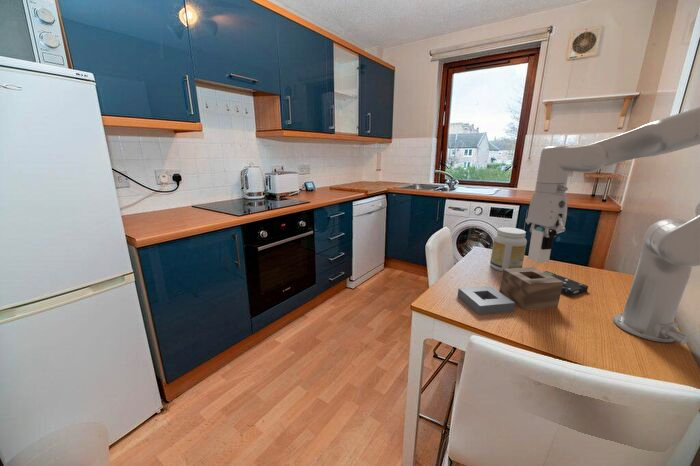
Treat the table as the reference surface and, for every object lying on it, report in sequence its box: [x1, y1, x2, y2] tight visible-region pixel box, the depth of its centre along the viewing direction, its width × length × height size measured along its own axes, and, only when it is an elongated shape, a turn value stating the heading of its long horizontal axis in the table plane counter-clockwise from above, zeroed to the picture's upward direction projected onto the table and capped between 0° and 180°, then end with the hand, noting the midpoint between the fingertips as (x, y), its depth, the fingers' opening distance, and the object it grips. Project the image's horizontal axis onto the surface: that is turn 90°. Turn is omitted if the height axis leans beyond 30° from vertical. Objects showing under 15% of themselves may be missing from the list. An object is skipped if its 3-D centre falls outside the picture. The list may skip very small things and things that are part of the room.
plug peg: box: [527, 226, 552, 264], centre depth 91 cm, size 4×4×11 cm
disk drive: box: [544, 270, 589, 298], centre depth 107 cm, size 10×3×15 cm
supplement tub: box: [489, 226, 528, 272], centre depth 121 cm, size 12×12×17 cm
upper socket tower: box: [498, 266, 563, 311], centre depth 95 cm, size 12×12×9 cm
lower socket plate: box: [457, 285, 516, 316], centre depth 93 cm, size 12×12×3 cm
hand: (540, 246), depth 91 cm, fingers closed on plug peg, 4 cm apart
